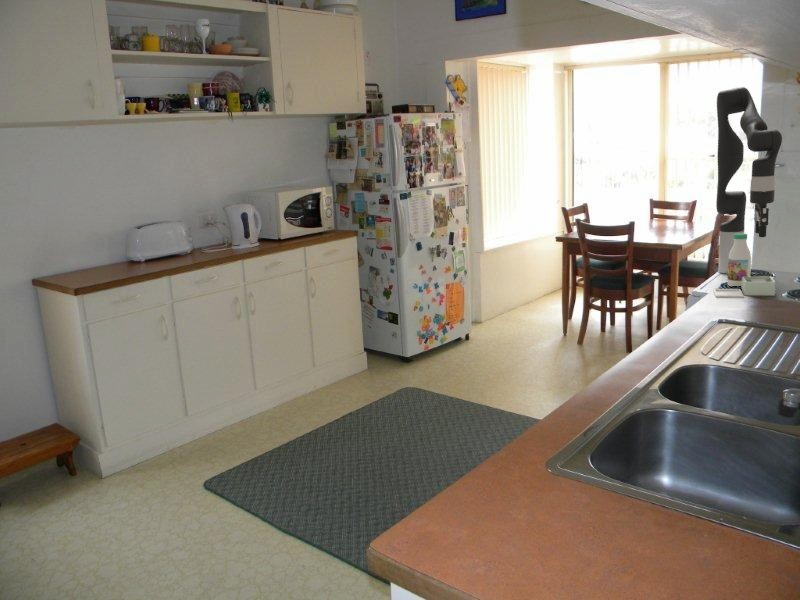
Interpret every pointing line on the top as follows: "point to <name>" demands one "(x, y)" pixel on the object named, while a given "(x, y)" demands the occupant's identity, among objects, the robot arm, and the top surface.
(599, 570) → the top surface
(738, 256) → the milk bottle
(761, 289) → the green bin
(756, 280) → the gray cube
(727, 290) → the white tray
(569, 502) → the top surface
